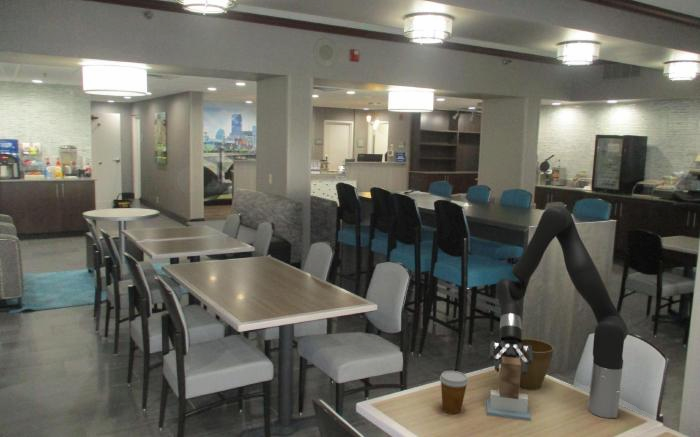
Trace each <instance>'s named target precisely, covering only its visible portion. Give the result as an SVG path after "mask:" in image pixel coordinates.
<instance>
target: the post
mask: <svg viewBox="0 0 700 437" xmlns="http://www.w3.org/2000/svg"><path fill="white" fill-rule="evenodd" d="M499 372H500V373H499V383H498V391H499V394H500V397H505V398H512V399H518V398H519V393H520V386H521V385H520V374H521V362H520V358H514V357H506V356H502V358H501V359H500V369H499Z"/></svg>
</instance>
